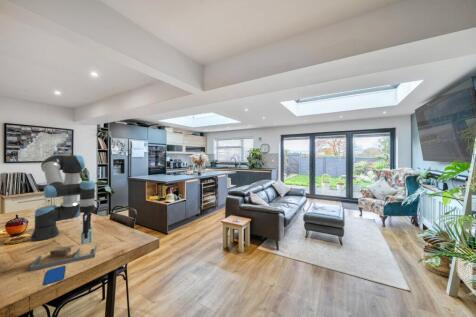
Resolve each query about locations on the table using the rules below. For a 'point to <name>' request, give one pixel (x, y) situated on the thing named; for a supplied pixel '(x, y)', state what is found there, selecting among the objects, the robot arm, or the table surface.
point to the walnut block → (60, 251)
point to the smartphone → (54, 275)
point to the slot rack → (76, 258)
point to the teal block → (89, 237)
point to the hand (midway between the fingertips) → (86, 241)
